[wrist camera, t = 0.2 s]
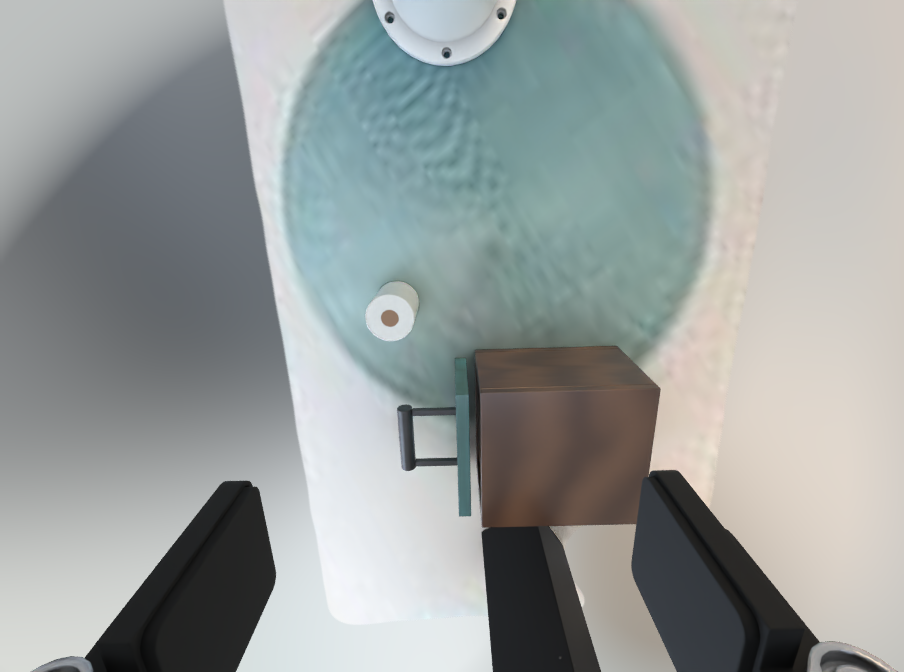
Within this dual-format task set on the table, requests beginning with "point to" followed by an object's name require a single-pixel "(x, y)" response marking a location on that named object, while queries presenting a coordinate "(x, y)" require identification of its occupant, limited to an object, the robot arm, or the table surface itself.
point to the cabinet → (562, 435)
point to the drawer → (462, 436)
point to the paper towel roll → (392, 311)
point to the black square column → (533, 604)
